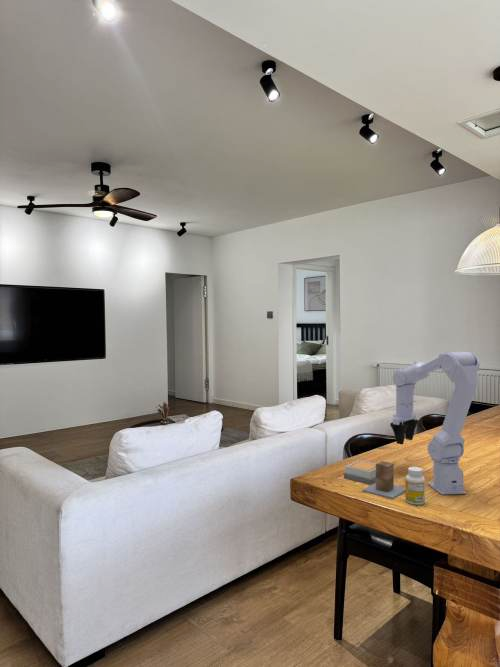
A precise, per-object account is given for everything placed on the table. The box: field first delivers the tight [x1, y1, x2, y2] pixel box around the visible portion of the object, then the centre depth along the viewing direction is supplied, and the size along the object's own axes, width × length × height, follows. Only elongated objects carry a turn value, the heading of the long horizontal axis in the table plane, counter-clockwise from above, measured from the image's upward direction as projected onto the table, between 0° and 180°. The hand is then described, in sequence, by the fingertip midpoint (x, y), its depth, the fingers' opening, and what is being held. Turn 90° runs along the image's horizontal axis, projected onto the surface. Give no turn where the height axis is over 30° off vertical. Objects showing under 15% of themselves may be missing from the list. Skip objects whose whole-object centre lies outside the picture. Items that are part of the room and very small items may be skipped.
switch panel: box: [343, 459, 376, 486], centre depth 159 cm, size 10×10×4 cm
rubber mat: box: [362, 482, 406, 500], centre depth 146 cm, size 10×10×1 cm
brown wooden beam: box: [375, 460, 395, 492], centre depth 146 cm, size 4×4×8 cm
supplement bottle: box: [405, 466, 426, 506], centre depth 137 cm, size 5×5×10 cm
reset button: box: [350, 460, 376, 471], centre depth 158 cm, size 7×7×2 cm
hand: (404, 441), depth 165 cm, fingers open, 7 cm apart
